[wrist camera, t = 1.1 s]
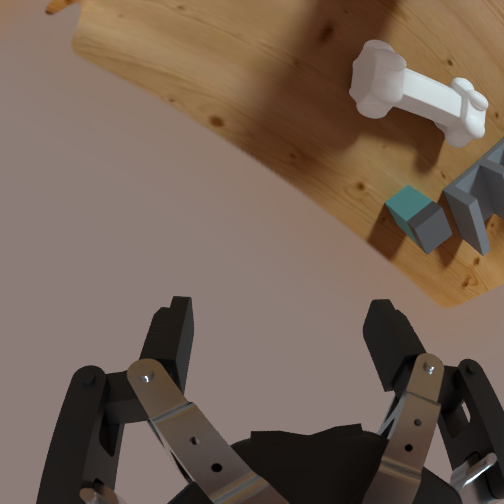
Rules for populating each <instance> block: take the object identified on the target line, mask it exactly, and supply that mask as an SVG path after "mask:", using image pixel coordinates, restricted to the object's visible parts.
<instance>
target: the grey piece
mask: <svg viewBox="0 0 504 504" xmlns="http://www.w3.org/2000/svg"><path fill="white" fill-rule="evenodd" d="M443 192H444V194H445V197H446V199H447V202H448V204H449V207H450V209H451V212H452V214H453V217H454V220H455V222H456V225H457V228H458V231H459V234H460V237H461V238H463V239H464V240H465V241H466V242H467V243H469V244H470V245H471V246H472V247H473V248H474V249H475V250H477V251H478V252H479V253H480V254H481V255H482V256H484V255H485V254H486V253H487V252H488V251H489V250H490V245H489V241H488V237H487V233H486V229H485V225H484V222H485V221H486V220H487V219H488V218H489V217H490V216H491V215H493V214H494V213H495V214H496V215H498V216H499V217H501V218H502V219H504V138H502V139H501V140H500V141H499V142H498V143H497V144H496V145H495V146H494V147H493V148H491V149H490V150H489V151H488V152H487V153H486V154H485V155H484V156H482V157H481V158H480V159H479V160H478V161H477V162H476V163H474V164H473V165H472V166H471V167H470V168H469V169H467V170H466V171H465V172H464V173H463V174H462V175H460V176H459V177H458V178H457V179H456V180H454V181H453V182H452V183H451V184H450V185H448V186H447V187H446V188H445V189H443Z"/></svg>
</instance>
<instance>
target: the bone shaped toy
mask: <svg viewBox="0 0 504 504" xmlns="http://www.w3.org/2000/svg"><path fill="white" fill-rule="evenodd" d="M349 94H350V96H351V97H352V98H353V99H354V100H355V102H356V103H357V104H356V108H357V110H358V112H359V113H360V114H362V115H363V116H366V117H368V118H374V119H378V118H382V117H384V116H385V115H386V114H387V112H388V111H389V110H390V109H391V108H392V107H393V106H394V107H397V108H400V109H403V110H406V111H409V112H411V113H414V114H417V115H420V116H422V117H425V118H427V119H430V120H432V121H434V123H435V125H436V126H437V127H438V128H439V129H440V130H442V131H443V132H444V134H445V140H446V141H447V143H448V144H450V145H451V146H454V147H458V148H461V147H464V146H466V145H467V143H468V142H469V141H471V140H472V139H474V138H475V139H480V138H482V137H483V135H484V133H485V128H484V123H485V113H486V109H487V108H488V102H487V100H486V98H485V97H484V96H483V95H481V94H480V93H479V92H477V91H474V87H473V85H472V84H471V83H470V82H469V81H468V80H466V79H464V78H455V79H453V80H452V81H451V83H450V84H449V85H448V86H445V85H443V84H441V83H439V82H437V81H435V80H433V79H430V78H428V77H426V76H424V75H421V74H419V73H417V72H414V71H412V70H409V69H407V68H406V61H405V60H404V58H403V57H401V56H400V55H399V54H397V53H395V52H394V50H393V48H392V47H391V46H390V45H389V44H387V43H385V42H383V41H380V40H369V41H367V42H366V43H365V44H364V46H363V50H362V51H361V53H360V55H359V56H358V58H357V59H355V60H354V62H353V74H352V83H351V88H350V89H349Z"/></svg>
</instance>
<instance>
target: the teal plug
mask: <svg viewBox="0 0 504 504" xmlns="http://www.w3.org/2000/svg"><path fill="white" fill-rule="evenodd" d="M385 204H386V206H387V207H388V209H389V211H390V213H391V214H392V216H393V218H394V220H395V222H396V223H397V225H398V226H399V227H400V228H401V229H402V230H403V231H404V232H405V233H406V234H407V235H408V236H409V237H410V238H411V239H412V240H413V241H414V242H415V243H416V244H417V245H418V246H419V247H420V248H421V249H422V250H423V251H424V252H425V253H426V254H427V255H428V254H429V253H430V252H431V251H433V250H434V249H435V248H436V247H438V246H439V245H440V244H441V243H443V242H444V241H445V240H446V239H448V238H449V237H450V236H451V235H452V231H451V229H450V226H449V223H448V221H447V218H446V216H445V213H444V211H443V208H442V207H441V206H439V205H438V204H436V203H435V202H434V201H432V200H431V199H429V198H428V197H426V196H425V195H423V194H422V193H420V192H419V191H417V190H416V189H414V188H412V187H411V186H409V185H407V186H406V187H404V188H403V189H402V190H400V191H399V192H398V193H397V194H395V195H394V196H393V197H391V198H390V199H389V200H387V201H386V202H385Z"/></svg>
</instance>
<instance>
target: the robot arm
mask: <svg viewBox="0 0 504 504" xmlns="http://www.w3.org/2000/svg"><path fill="white" fill-rule="evenodd" d="M193 336H194V321H193V311H192V300H191V297H181V296H174V297H173V299H172V302H171V306H170V308H167V307H166V308H165V307H162V308H160V309H159V310H158V311H157V312H156V313H155V314H154V316H153V319H152V322H151V325H150V328H149V332H148V334H147V337H146V340H145V342H144V346H143V349H142V352H141V355H140V358H139V360H138V361H135V362H134V363H133V364H131V365H130V367H129V368H128V370H126V371H123V372H117V373H110V374H105V373H104V371H103V370H102V369H101V368H99V367H97V366H92V365H91V366H90V365H89V366H84V367H82V368H80V369H79V370H77V371H76V372H75V373H74V375H73V377H72V380H71V383H70V385H69V388H68V391H67V393H66V396H65V399H64V402H63V405H62V408H61V411H60V414H59V417H58V420H57V423H56V427H55V430H54V433H53V437H52V440H51V443H50V447H49V451H48V454H47V458H46V462H45V466H44V470H43V474H42V478H41V483H40V488H39V492H38V497H37V502H36V504H127V503H126V502H125V500H124V499H123V498H121V497H120V496H119V495H118V494H116V493H115V492H114V489H115V481H116V474H117V467H118V460H119V454H120V447H121V442H122V436H123V430H124V425H125V423H133V422H140V421H147V423H148V424H149V426H150V428H151V429H152V431H153V432H154V434H155V436H156V437H157V439H158V440H159V442H160V443H161V445H162V447H163V448H164V450H165V451H166V453H167V454H168V456H169V458H170V459H171V461H172V462H173V464H174V465H175V467H176V468H177V470H178V471H179V473H180V474H181V475H182V477H183V478H184V479H185V481H186V482H187V483H188V485H187V486H186V487H185V488H184V489H183V490H182V491H181V492H180V493H178V494H177V495H176V496H175V497H174V498H173V499H172V500H171V501H170V502H168V503H167V504H496V503H498V502H499V501H501V500H503V499H504V411H503V409H502V407H501V404H500V402H499V400H498V398H497V396H496V394H495V392H494V390H493V388H492V386H491V384H490V382H489V380H488V378H487V377H486V375H485V373H484V371H483V369H482V367H481V366H480V365H479V364H478V363H477V362H476V361H474V360H471V359H464V360H462V361H461V362H460V364H459V365H458V367H452V366H444V365H443V363H442V361H441V360H440V359H439V358H438V357H436V356H435V355H433V354H429V353H426V351H425V349H424V347H423V345H422V343H421V342H420V340H419V338H418V336H417V335H416V333H415V332H414V329H413V328H412V326H411V325H410V323H409V321H408V319H407V317H406V316H405V315H404V314H403V313H401V312H400V311H399V310H395V308H394V306H393V305H392V303H391V301H390V300H389V299H380V300H379V299H378V300H373V301H372V302H371V304H370V308H369V310H368V313H367V317H366V319H365V322H364V325H363V337H364V340H365V342H366V345H367V347H368V350H369V352H370V354H371V357H372V360H373V362H374V365H375V367H376V370H377V372H378V375H379V378H380V380H381V383H382V386H383V388H384V391H385V392H387V391H393V390H394V392H395V395H394V397H393V399H392V401H391V404H390V406H389V408H388V411H387V413H386V416H385V418H384V420H383V422H382V424H381V426H380V429H379V430H378V432H377V434H376V433H373V432H369V431H363V430H362V427H361V424H352V425H345V426H337V427H333V428H331V429H328V430H325V431H322V432H319V433H315V434H313V435H302V434H295V433H290V432H284V431H251V437H250V438H249V439H245V440H242V441H239V442H236V443H234V444H232V445H230V446H229V444H228V443H227V442H226V441H225V440H224V439H223V438H222V436H221V435H220V434H219V433H218V431H217V430H216V429H215V428H214V427H213V425H212V424H211V423H210V422H209V421H208V419H207V418H206V417H205V416H204V414H203V413H202V412H201V411H200V409H199V408H198V407H197V406H196V405H195V404H194V403H193V402H188V401H187V400H186V398H185V397H184V391H185V384H186V378H187V372H188V366H189V360H190V353H191V348H192V342H193ZM464 402H465V403H466V406H467V408H468V410H469V413H470V422H468V420H467V417H466V415H465V412H464V410H463V407H462V404H463V403H464ZM437 423H438V426H439V429H440V432H441V435H442V438H443V441H444V444H445V447H446V451H447V454H448V457H449V461H450V464H451V467H452V471H453V473H452V475H451V479H450V483H449V484H448V483H447V482H445V481H444V480H442V479H441V478H439V477H438V476H436V475H435V474H434V473H432V472H431V471H429V470H428V469H427V468H425V467H424V463H425V460H426V457H427V454H428V451H429V448H430V445H431V441H432V438H433V435H434V431H435V428H436V424H437Z"/></svg>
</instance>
